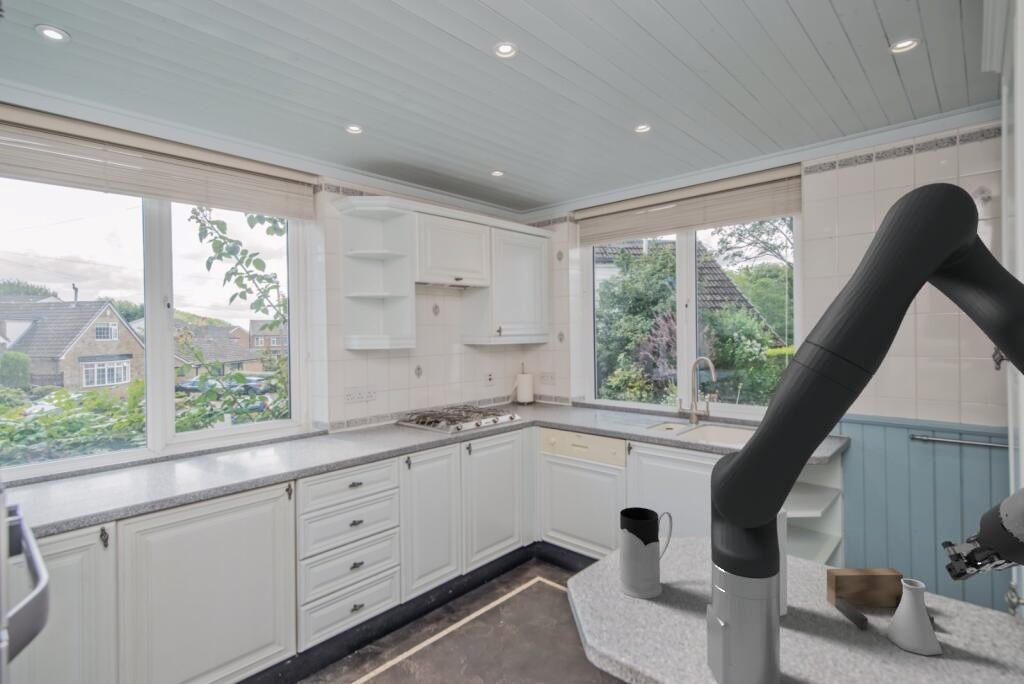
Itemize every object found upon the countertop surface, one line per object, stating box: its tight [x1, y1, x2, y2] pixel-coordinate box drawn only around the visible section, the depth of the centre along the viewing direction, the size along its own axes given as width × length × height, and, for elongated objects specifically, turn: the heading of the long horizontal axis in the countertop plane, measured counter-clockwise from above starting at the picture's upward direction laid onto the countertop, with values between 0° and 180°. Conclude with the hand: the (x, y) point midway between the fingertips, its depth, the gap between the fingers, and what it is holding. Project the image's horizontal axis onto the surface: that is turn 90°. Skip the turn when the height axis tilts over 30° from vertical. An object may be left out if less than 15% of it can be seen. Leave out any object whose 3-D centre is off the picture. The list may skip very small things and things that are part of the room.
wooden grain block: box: [826, 567, 935, 631], centre depth 91 cm, size 12×10×6 cm
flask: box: [885, 577, 944, 656], centre depth 82 cm, size 7×7×10 cm
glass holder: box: [617, 506, 673, 600], centre depth 103 cm, size 9×14×15 cm, turn 123°
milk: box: [777, 506, 788, 617], centre depth 93 cm, size 6×6×22 cm
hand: (953, 573), depth 75 cm, fingers closed
